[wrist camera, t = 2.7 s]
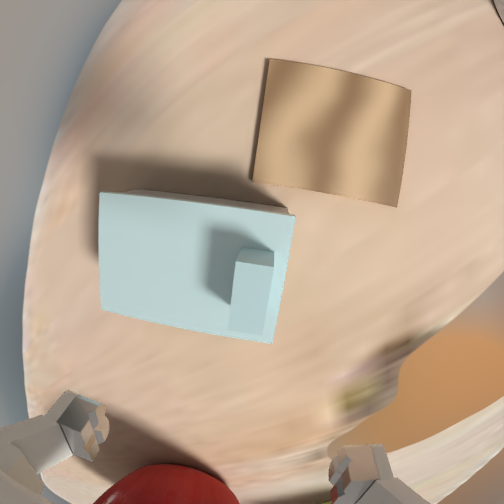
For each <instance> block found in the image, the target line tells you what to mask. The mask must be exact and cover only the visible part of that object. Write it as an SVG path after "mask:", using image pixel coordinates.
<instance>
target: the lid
mask: <svg viewBox="0 0 504 504" xmlns="http://www.w3.org/2000/svg"><path fill="white" fill-rule="evenodd" d="M295 217H296V216H295V215H291V214H285V213H279V212H272V211H265V210H259V209H252V208H245V207H237V206H230V205H223V204H215V203H207V202H199V201H191V200H183V199H174V198H166V197H157V196H147V195H138V194H128V193H117V192H106V191H104V192H100V195H99V229H98V245H99V279H100V296H101V309H102V310H105V311H109V312H113V313H117V314H121V315H125V316H129V317H133V318H137V319H141V320H145V321H150V322H154V323H159V324H163V325H168V326H173V327H177V328H182V329H187V330H192V331H198V332H203V333H208V334H214V335H219V336H225V337H231V338H237V339H243V340H250V341H256V342H263V343H270V344H272V343H273V338H274V333H275V328H276V323H277V318H278V313H279V308H280V302H281V297H282V292H283V286H284V281H285V275H286V270H287V264H288V259H289V253H290V247H291V241H292V235H293V230H294V224H295Z"/></svg>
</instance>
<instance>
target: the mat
mask: <svg viewBox="0 0 504 504" xmlns="http://www.w3.org/2000/svg"><path fill="white" fill-rule="evenodd" d="M410 104H411V90H408V89H405V88H402V87H399V86H396V85H393V84H390V83H386V82H383V81H379V80H376V79H372V78H368V77H365V76H361V75H357V74H353V73H349V72H344V71H340V70H335V69H330V68H325V67H320V66H315V65H309V64H303V63H297V62H290V61H283V60H275V59H270V61H269V68H268V75H267V82H266V89H265V95H264V102H263V109H262V116H261V124H260V131H259V138H258V145H257V152H256V159H255V167H254V174H253V181H252V182H259V183H266V184H273V185H280V186H286V187H293V188H299V189H305V190H311V191H317V192H322V193H328V194H333V195H339V196H344V197H349V198H354V199H359V200H364V201H369V202H374V203H379V204H383V205H388V206H393V207H397V204H398V199H399V193H400V187H401V181H402V175H403V168H404V161H405V154H406V146H407V137H408V127H409V117H410Z"/></svg>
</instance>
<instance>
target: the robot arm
mask: <svg viewBox="0 0 504 504" xmlns="http://www.w3.org/2000/svg"><path fill="white" fill-rule="evenodd" d="M494 3H495V6H496V8H497V11H498V13H499V15H500V17H501V19H502V21H503V22H504V0H494ZM105 413H106V409H105V405H103V404H100V403H98V402H95V401H93V400H90V399H88V398H86V397H83V396H81V395H79V394H76V393H74V392H71V391H69V390H68V391H66V392H64V393H63V394H62V396H61V397H60V398H59V399H58V400H57V402H56V403H55V404H54V405H53V406H52V408H51V409H50V410H49V411H48V413H47V414H46V415H45V416H43V415H40V416H37V417H34V418H31V419H27V420H25V421H21V422H18V423H15V424H12V425H9V426H5V427H2V428H0V504H53V503H51V502H49V501H48V500H46V499H44V498H43V497H41V496H40V494H41V493H42V491H43V489H44V487H45V486H44V483H43V482H42V481H41V479H40V478H39V476H38V475H37V474H38V473H41V472H42V471H44V470H46V469H48V468H50V467H52V466H54V465H56V464H58V463H60V462H62V461H63V460H65V459H67V458H69V457H71V456H73V454H74V455H76V456H79V457H81V458H83V459H86V460H88V461H91V462H93V461H94V459H95V458H96V456H97V454H98V452H99V451H100V449H99V445H98V444H100V443H103V442H105V440H106V438H107V436H108V432H109V420H108V418H107V417H106V416H105V415H104V414H105ZM337 454H338V456H336V457H335V458H333V459H332V461H331V463H330V467H329V481H330V482H331V483H332V484H333V485H334V486H333V488H332V489H331V491H330V493H331V501H332V504H430V503H429V502H427V501H426V500H425V499H423V498H422V497H421V496H420V495H418V494H417V493H416V492H415V491H413V490H412V489H411V488H410V487H408V486H407V485H406V484H405V483H403V482H402V481H401V480H400V479H398V478H394V477H393V474H392V470H391V467H390V464H389V461H388V457H387V454H386V451H385V448H384V446H383V445H382V444H372V445H367V444H365V445H342V446H340V447H339V449H338V451H337Z"/></svg>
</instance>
